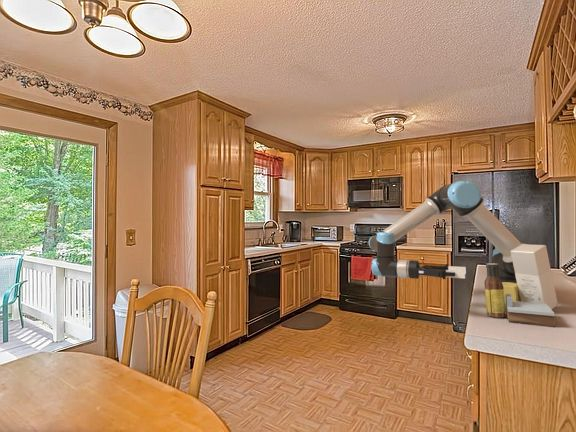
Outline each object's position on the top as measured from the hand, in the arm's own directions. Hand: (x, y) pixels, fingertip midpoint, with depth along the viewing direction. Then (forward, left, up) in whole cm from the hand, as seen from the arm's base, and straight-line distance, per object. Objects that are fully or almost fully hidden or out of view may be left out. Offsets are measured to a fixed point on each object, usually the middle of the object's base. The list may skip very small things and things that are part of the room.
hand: (465, 272), depth 131 cm
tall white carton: (-18, +26, -15) cm, 35 cm away
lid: (0, +20, -12) cm, 23 cm away
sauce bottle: (0, +10, -16) cm, 19 cm away
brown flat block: (0, +20, -16) cm, 25 cm away
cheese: (-17, +14, -16) cm, 27 cm away
